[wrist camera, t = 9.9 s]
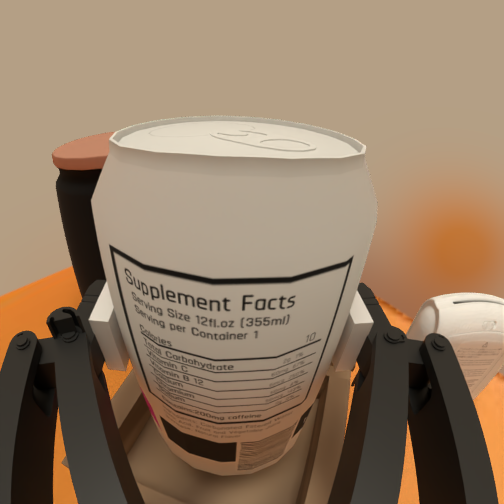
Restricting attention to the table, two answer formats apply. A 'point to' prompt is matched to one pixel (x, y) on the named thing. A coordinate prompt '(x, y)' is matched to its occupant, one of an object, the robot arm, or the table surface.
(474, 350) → the white rounded block
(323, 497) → the crate
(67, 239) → the coffee jar
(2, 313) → the table surface
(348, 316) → the robot arm
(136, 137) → the supplement can
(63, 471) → the table surface
